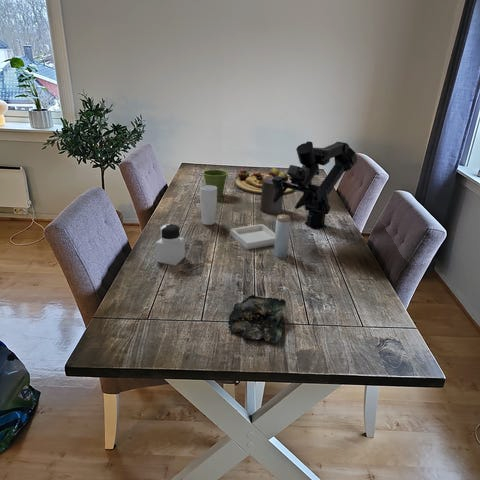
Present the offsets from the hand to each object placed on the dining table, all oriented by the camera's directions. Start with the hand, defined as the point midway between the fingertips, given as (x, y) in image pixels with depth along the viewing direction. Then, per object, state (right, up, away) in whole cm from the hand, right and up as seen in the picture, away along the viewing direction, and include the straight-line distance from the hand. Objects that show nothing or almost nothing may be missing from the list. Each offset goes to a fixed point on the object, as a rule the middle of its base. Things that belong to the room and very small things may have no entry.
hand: (284, 204), depth 150 cm
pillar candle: (-2, +1, +39) cm, 39 cm away
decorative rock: (-11, -34, -39) cm, 53 cm away
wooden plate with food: (-2, +15, +73) cm, 74 cm away
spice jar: (-2, -18, -2) cm, 18 cm away
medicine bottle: (-39, -19, -8) cm, 44 cm away
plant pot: (-28, +9, +55) cm, 62 cm away
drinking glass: (-29, -6, +22) cm, 37 cm away
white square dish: (-10, -12, +9) cm, 18 cm away
